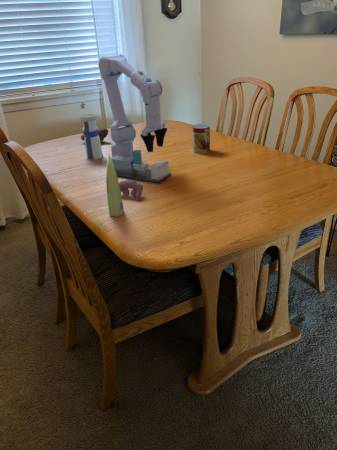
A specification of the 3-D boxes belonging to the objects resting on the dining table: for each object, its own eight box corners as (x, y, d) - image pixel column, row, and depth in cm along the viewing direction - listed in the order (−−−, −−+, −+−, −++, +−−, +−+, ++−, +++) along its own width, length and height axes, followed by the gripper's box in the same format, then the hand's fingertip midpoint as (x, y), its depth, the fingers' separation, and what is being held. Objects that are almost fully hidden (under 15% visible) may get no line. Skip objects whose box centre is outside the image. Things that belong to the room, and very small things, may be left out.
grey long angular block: (107, 175, 157) (105, 160, 154) (121, 167, 164) (119, 153, 161) (158, 184, 145) (157, 168, 142) (171, 175, 152) (170, 160, 149)
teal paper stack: (113, 166, 158) (111, 148, 154) (117, 164, 160) (115, 146, 156) (144, 171, 150) (143, 153, 147) (148, 169, 152) (146, 151, 149)
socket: (151, 178, 148) (150, 165, 145) (160, 173, 153) (159, 160, 150) (160, 180, 146) (159, 166, 143) (169, 174, 151) (168, 161, 148)
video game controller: (143, 201, 136) (145, 181, 136) (138, 200, 132) (140, 180, 131) (118, 198, 139) (120, 179, 139) (113, 197, 135) (114, 178, 134)
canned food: (210, 153, 175) (210, 127, 169) (193, 154, 175) (193, 128, 169) (209, 148, 182) (209, 123, 176) (192, 149, 182) (192, 124, 176)
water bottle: (81, 159, 177) (72, 104, 165) (91, 153, 184) (83, 100, 172) (96, 160, 174) (88, 104, 163) (106, 154, 181) (99, 101, 169)
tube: (104, 214, 125) (96, 157, 115) (116, 208, 128) (108, 152, 119) (116, 218, 121) (108, 160, 112) (127, 212, 125) (121, 155, 115)
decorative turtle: (109, 144, 196) (106, 129, 192) (80, 148, 197) (77, 133, 193) (111, 138, 204) (108, 124, 200) (84, 141, 206) (81, 127, 201)
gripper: (151, 119, 137) (154, 155, 144) (171, 111, 148) (172, 144, 155) (135, 118, 140) (138, 153, 147) (155, 110, 151) (158, 143, 158)
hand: (155, 149), depth 151 cm, fingers open, 7 cm apart
